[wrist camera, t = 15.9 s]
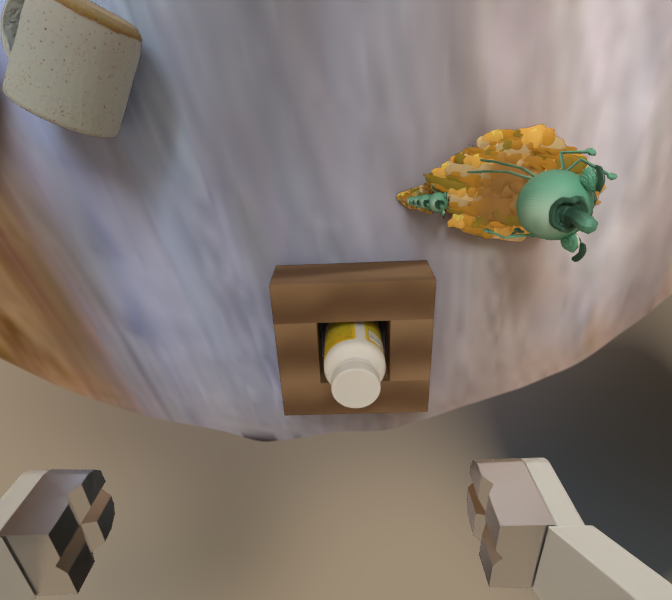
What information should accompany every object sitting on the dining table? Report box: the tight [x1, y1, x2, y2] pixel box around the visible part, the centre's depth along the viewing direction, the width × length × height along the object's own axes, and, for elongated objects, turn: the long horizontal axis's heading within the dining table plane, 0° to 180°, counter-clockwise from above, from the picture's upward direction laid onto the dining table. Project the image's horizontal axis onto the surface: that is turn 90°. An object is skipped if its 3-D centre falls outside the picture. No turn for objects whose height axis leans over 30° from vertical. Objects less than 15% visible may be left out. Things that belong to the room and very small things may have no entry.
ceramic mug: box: [0, 0, 142, 138], centre depth 30 cm, size 10×8×7 cm
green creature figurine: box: [396, 124, 617, 262], centre depth 32 cm, size 10×18×15 cm, turn 84°
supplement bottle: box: [324, 321, 386, 408], centre depth 39 cm, size 5×5×10 cm
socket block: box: [269, 260, 436, 415], centre depth 42 cm, size 14×14×4 cm
